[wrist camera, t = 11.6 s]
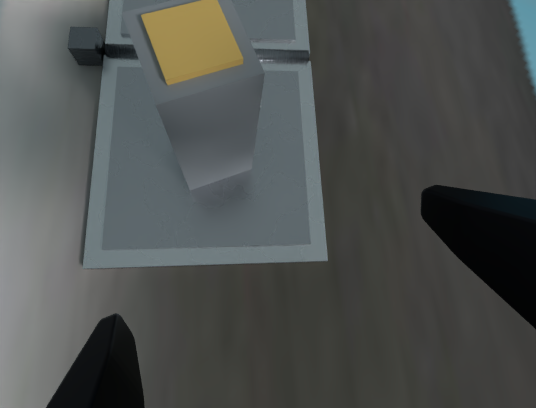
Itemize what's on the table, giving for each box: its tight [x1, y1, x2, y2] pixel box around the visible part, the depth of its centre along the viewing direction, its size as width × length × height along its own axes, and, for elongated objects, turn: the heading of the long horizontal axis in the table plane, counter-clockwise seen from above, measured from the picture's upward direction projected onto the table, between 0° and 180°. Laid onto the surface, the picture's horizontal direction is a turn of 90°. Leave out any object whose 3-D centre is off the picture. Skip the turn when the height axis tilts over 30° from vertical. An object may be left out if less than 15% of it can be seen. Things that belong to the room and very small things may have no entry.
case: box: [68, 0, 328, 269], centre depth 23 cm, size 29×16×2 cm, turn 2°
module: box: [122, 0, 265, 190], centre depth 17 cm, size 4×4×10 cm
